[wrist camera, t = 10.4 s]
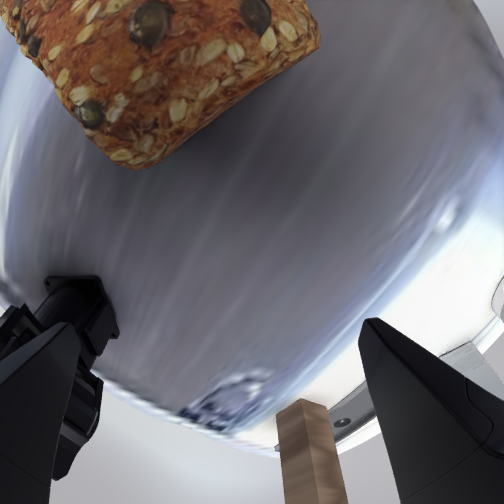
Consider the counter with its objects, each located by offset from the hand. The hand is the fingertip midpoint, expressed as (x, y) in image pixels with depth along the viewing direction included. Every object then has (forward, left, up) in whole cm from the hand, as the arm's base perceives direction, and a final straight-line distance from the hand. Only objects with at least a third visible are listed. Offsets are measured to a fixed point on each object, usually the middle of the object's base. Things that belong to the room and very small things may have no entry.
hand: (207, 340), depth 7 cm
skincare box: (+28, -20, -12) cm, 37 cm away
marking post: (+7, -25, -12) cm, 29 cm away
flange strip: (+13, -29, -12) cm, 34 cm away
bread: (-4, +14, -12) cm, 19 cm away
